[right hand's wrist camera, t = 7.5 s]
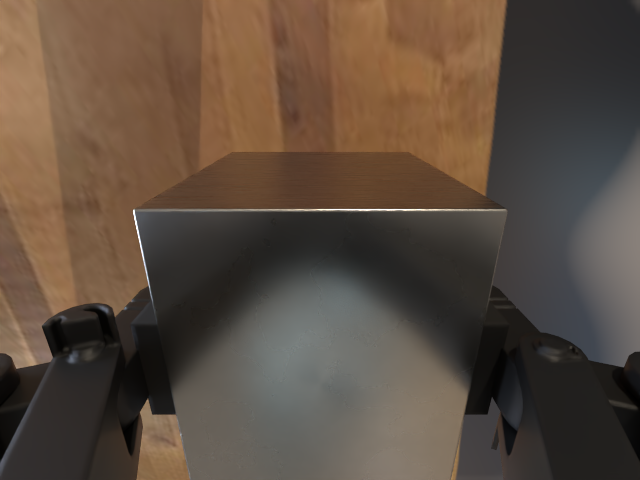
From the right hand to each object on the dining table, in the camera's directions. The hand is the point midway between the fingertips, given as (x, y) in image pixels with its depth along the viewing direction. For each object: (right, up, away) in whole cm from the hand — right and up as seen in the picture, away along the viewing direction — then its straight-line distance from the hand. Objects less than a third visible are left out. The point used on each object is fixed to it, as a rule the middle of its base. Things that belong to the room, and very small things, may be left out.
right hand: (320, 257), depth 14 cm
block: (0, 0, +1) cm, 1 cm away
